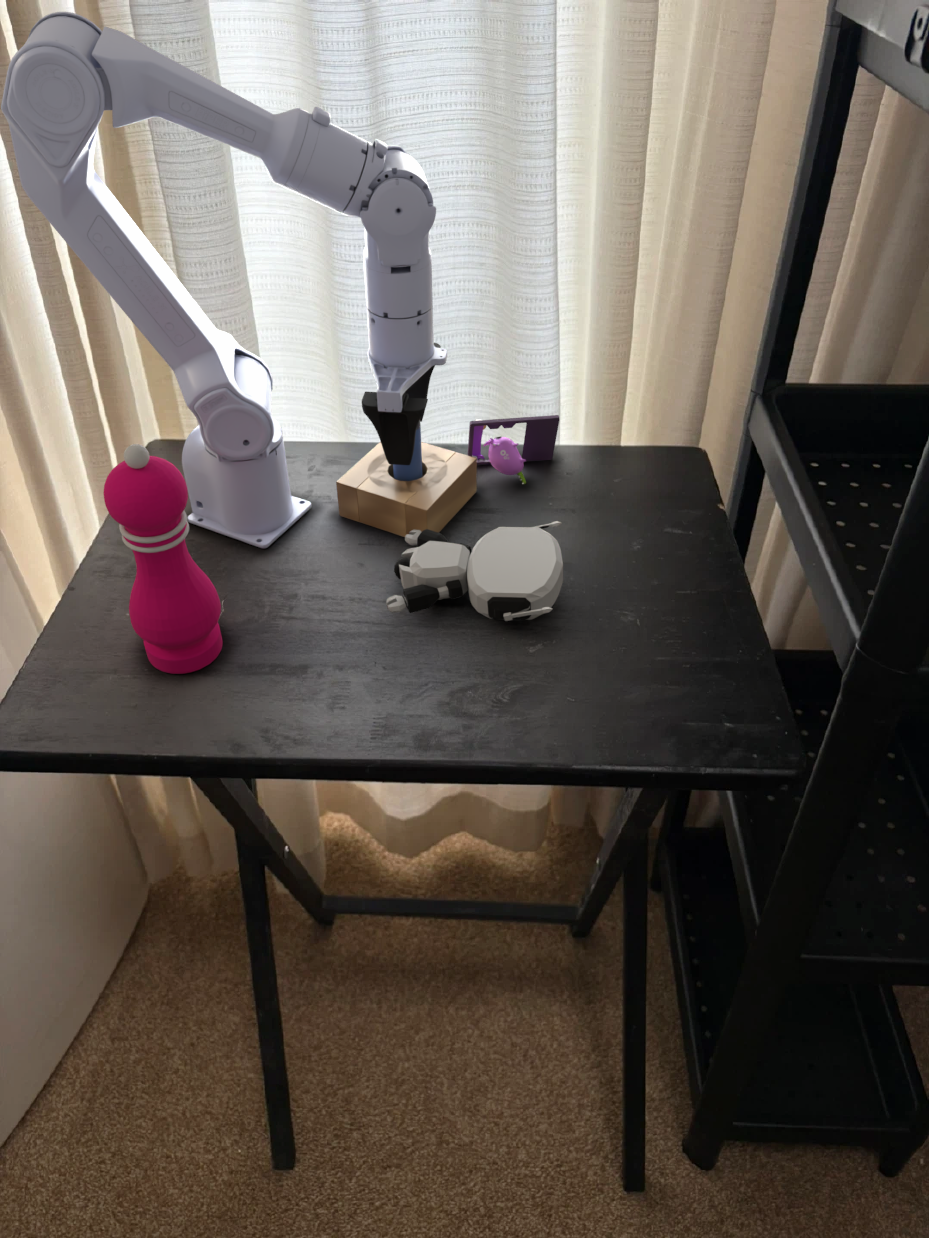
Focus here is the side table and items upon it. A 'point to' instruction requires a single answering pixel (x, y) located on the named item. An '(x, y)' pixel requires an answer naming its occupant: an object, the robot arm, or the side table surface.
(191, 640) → the pepper mill
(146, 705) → the side table surface
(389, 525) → the holder
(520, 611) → the robot toy
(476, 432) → the purple toy with frame
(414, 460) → the blue domed cylinder
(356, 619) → the side table surface
